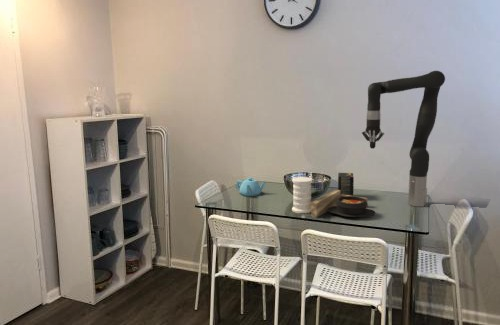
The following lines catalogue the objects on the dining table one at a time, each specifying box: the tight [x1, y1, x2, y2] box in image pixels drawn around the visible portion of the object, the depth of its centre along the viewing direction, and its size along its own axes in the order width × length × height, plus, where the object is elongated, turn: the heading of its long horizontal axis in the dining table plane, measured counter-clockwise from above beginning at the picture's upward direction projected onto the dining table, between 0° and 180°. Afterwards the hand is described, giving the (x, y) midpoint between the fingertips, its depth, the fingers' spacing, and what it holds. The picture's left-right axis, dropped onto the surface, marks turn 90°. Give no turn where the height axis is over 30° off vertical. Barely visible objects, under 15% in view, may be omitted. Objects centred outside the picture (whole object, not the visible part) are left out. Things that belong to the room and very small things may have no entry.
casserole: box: [327, 195, 376, 219], centre depth 223 cm, size 25×19×8 cm
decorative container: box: [291, 176, 313, 214], centre depth 231 cm, size 12×12×18 cm
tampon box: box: [337, 172, 355, 196], centre depth 254 cm, size 11×9×15 cm
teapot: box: [234, 177, 267, 197], centre depth 268 cm, size 15×15×11 cm
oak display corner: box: [310, 189, 369, 219], centre depth 228 cm, size 18×32×8 cm, turn 143°
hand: (372, 148), depth 239 cm, fingers closed
